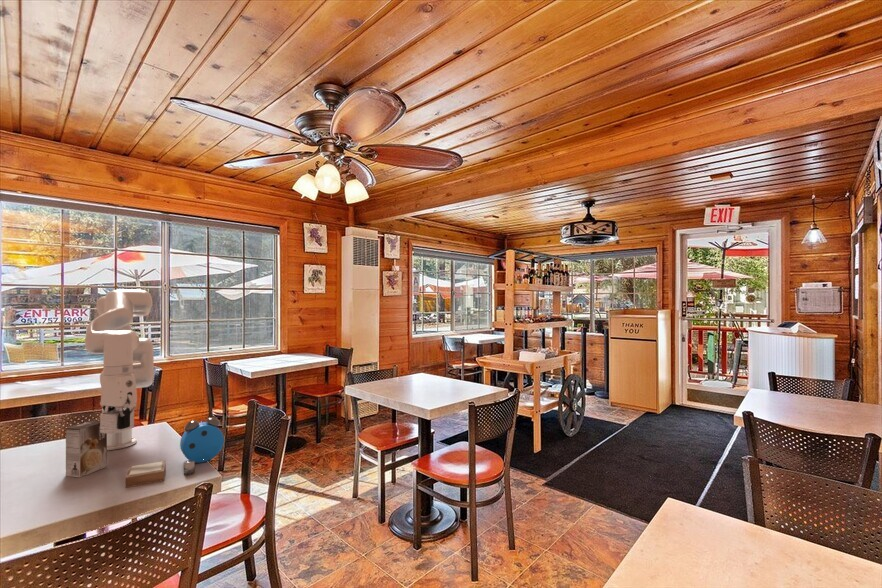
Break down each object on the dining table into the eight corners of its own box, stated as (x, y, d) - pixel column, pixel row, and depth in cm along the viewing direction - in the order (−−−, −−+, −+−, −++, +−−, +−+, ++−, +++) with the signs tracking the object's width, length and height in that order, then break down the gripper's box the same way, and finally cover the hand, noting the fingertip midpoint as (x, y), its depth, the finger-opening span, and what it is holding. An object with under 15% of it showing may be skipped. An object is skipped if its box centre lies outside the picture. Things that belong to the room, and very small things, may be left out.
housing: (100, 432, 132) (100, 412, 132) (122, 426, 139) (122, 407, 139) (111, 434, 131) (112, 414, 131) (133, 427, 138) (134, 408, 138)
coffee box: (92, 465, 148) (93, 419, 148) (107, 467, 147) (108, 420, 147) (64, 476, 139) (65, 427, 139) (80, 477, 138) (80, 428, 138)
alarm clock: (219, 453, 159) (220, 414, 159) (224, 458, 154) (224, 417, 154) (179, 462, 150) (179, 420, 151) (182, 467, 146) (183, 424, 146)
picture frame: (129, 475, 139) (129, 465, 139) (165, 469, 144) (165, 460, 144) (125, 487, 130) (125, 476, 130) (163, 480, 136) (163, 470, 136)
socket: (183, 473, 141) (183, 461, 141) (194, 471, 143) (194, 459, 143) (183, 476, 139) (183, 464, 139) (194, 474, 140) (194, 462, 140)
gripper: (149, 370, 136) (148, 426, 136) (111, 367, 141) (110, 422, 141) (126, 374, 129) (125, 433, 129) (86, 371, 134) (86, 428, 134)
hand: (117, 426), depth 135 cm, fingers closed on housing, 5 cm apart
